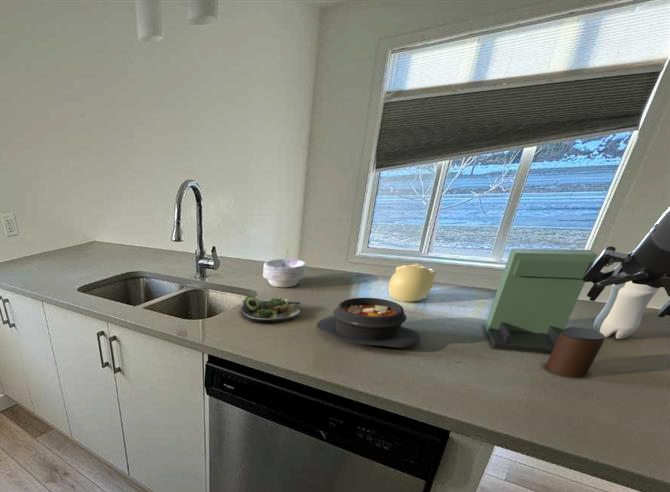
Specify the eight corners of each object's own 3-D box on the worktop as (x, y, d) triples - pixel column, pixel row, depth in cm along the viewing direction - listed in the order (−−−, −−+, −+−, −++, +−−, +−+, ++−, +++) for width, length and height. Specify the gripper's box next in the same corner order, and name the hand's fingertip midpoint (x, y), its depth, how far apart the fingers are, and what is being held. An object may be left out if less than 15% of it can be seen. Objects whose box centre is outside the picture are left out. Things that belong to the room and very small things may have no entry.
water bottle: (583, 328, 101) (634, 222, 88) (620, 329, 98) (678, 221, 86) (599, 339, 95) (656, 228, 82) (639, 341, 93) (704, 227, 80)
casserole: (303, 337, 109) (306, 308, 105) (334, 316, 120) (338, 289, 116) (403, 362, 93) (411, 329, 89) (429, 336, 104) (437, 304, 100)
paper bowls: (300, 277, 157) (302, 256, 153) (308, 289, 144) (311, 266, 140) (260, 279, 158) (261, 259, 155) (265, 291, 145) (266, 269, 141)
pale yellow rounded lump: (433, 296, 127) (442, 262, 122) (420, 307, 121) (429, 271, 115) (394, 290, 135) (402, 258, 129) (380, 300, 128) (387, 266, 123)
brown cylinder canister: (559, 360, 88) (576, 324, 84) (594, 373, 83) (614, 335, 79) (537, 366, 87) (553, 330, 83) (572, 380, 82) (591, 342, 77)
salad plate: (289, 300, 136) (290, 286, 133) (314, 318, 120) (316, 303, 118) (233, 307, 134) (234, 293, 132) (252, 326, 119) (252, 311, 116)
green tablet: (484, 326, 106) (511, 248, 96) (553, 332, 100) (590, 249, 90) (493, 348, 96) (524, 263, 86) (571, 356, 90) (615, 265, 80)
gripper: (783, 223, 52) (696, 301, 65) (632, 204, 60) (581, 277, 73) (761, 265, 51) (677, 336, 64) (610, 240, 59) (563, 307, 72)
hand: (626, 304), depth 69 cm, fingers open, 8 cm apart
